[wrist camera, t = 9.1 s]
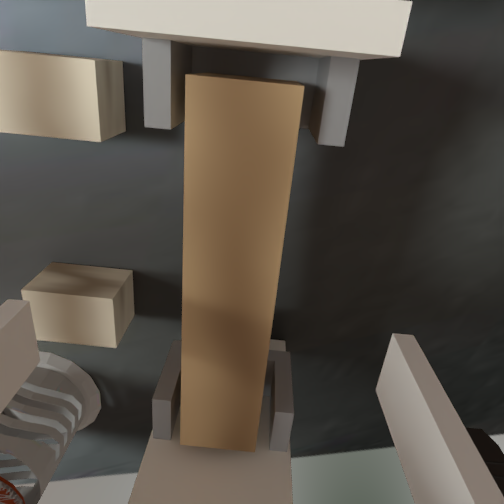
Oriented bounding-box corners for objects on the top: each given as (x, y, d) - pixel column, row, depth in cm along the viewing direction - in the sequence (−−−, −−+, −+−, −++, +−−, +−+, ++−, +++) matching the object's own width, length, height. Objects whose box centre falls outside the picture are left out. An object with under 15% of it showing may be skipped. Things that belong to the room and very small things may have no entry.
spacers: (58, 307, 31) (30, 339, 27) (21, 51, 23) (-26, 48, 19) (134, 315, 31) (116, 347, 27) (122, 61, 23) (94, 60, 19)
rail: (196, 377, 25) (180, 444, 21) (207, 72, 18) (185, 74, 13) (258, 383, 25) (255, 452, 21) (296, 81, 18) (304, 86, 13)
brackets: (184, 342, 32) (127, 525, 19) (190, 24, 22) (82, -31, 9) (283, 352, 32) (290, 542, 19) (332, 38, 22) (412, 1, 9)
